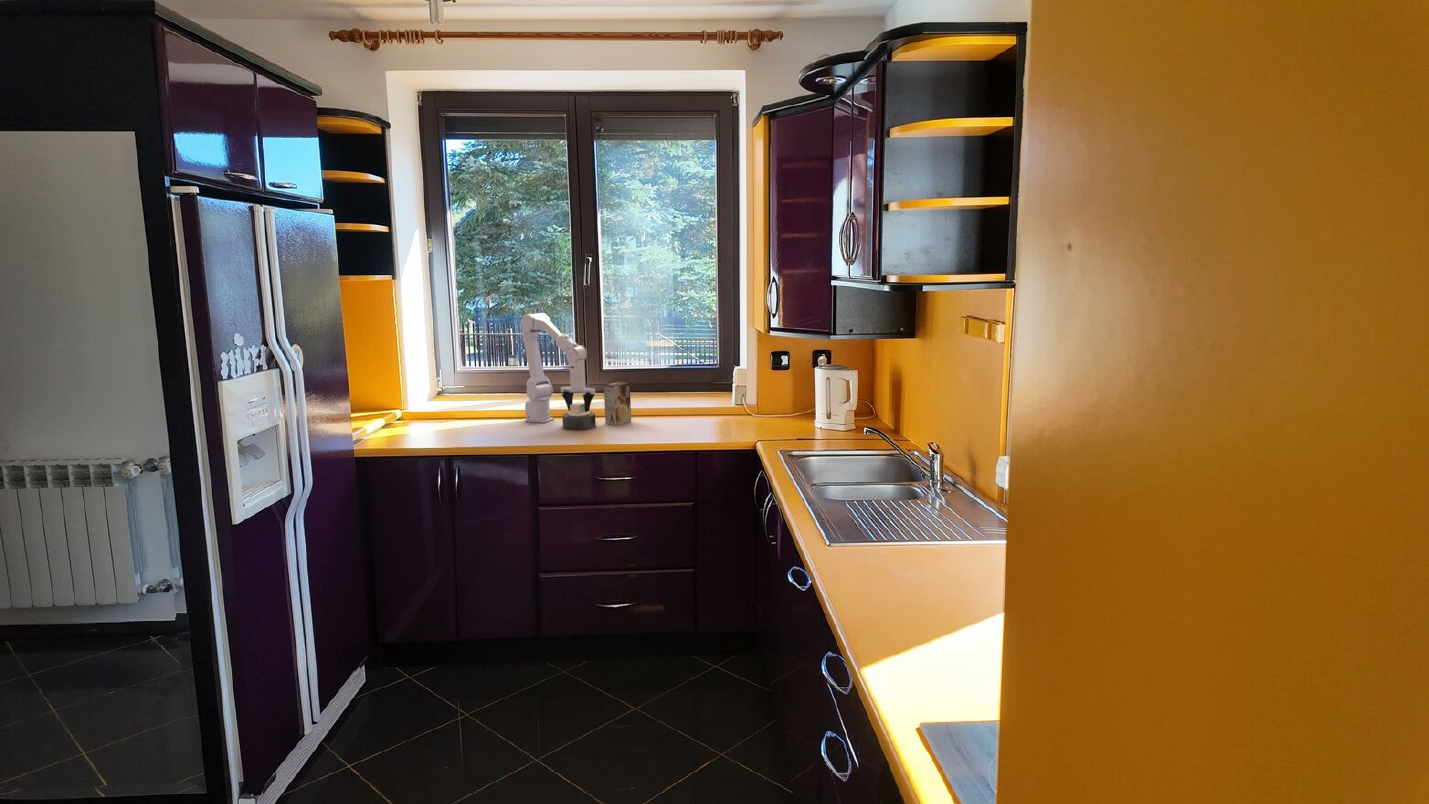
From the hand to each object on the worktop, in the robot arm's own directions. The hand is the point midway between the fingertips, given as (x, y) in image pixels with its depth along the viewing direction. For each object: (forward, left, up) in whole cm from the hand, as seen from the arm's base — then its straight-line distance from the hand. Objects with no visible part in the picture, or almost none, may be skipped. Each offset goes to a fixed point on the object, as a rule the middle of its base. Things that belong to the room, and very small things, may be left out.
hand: (578, 410), depth 331 cm
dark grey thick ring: (0, 0, -6) cm, 6 cm away
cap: (0, 0, -4) cm, 4 cm away
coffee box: (+11, +12, -7) cm, 18 cm away
